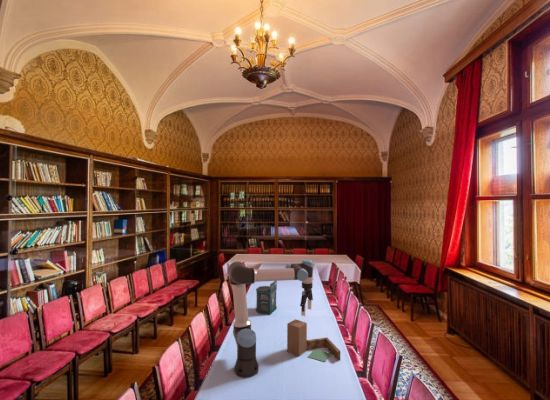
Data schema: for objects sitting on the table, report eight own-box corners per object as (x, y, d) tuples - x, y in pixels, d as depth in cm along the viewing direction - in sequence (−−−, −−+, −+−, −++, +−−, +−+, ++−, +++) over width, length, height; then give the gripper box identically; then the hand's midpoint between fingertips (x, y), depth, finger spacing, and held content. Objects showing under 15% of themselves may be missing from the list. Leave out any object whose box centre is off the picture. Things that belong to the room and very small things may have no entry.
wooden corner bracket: (318, 363, 194) (318, 354, 194) (306, 348, 213) (306, 340, 213) (340, 360, 199) (340, 351, 198) (327, 345, 218) (327, 337, 218)
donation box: (270, 315, 273) (270, 284, 272) (254, 312, 279) (254, 282, 278) (276, 308, 288) (276, 279, 287) (261, 306, 294) (261, 278, 293)
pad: (324, 362, 196) (324, 361, 196) (307, 357, 202) (307, 356, 202) (330, 353, 207) (330, 353, 207) (314, 349, 212) (314, 348, 212)
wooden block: (295, 346, 216) (295, 318, 216) (306, 351, 210) (307, 322, 210) (286, 351, 209) (287, 323, 208) (298, 356, 202) (298, 327, 202)
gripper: (306, 287, 198) (305, 319, 198) (317, 278, 221) (316, 307, 221) (295, 286, 201) (295, 317, 201) (307, 277, 224) (307, 305, 224)
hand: (306, 312), depth 211 cm, fingers open, 13 cm apart
